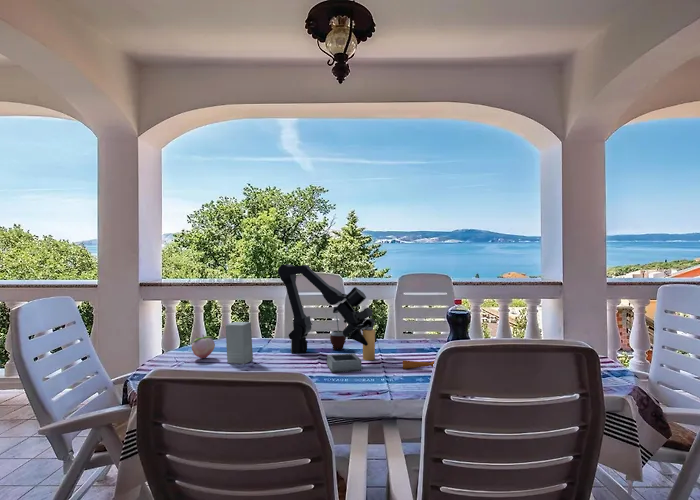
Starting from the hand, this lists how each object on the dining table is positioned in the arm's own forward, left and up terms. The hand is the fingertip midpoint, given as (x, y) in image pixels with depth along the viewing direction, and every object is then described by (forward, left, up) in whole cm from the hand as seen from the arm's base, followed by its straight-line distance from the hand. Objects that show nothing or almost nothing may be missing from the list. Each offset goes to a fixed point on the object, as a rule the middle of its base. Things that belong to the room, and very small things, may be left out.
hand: (371, 343), depth 171 cm
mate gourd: (-10, +22, -7) cm, 25 cm away
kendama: (+17, -20, -7) cm, 27 cm away
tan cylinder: (-1, +1, -7) cm, 7 cm away
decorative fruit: (-68, +17, -7) cm, 70 cm away
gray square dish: (-14, -10, -7) cm, 18 cm away
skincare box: (-53, +8, -7) cm, 54 cm away
